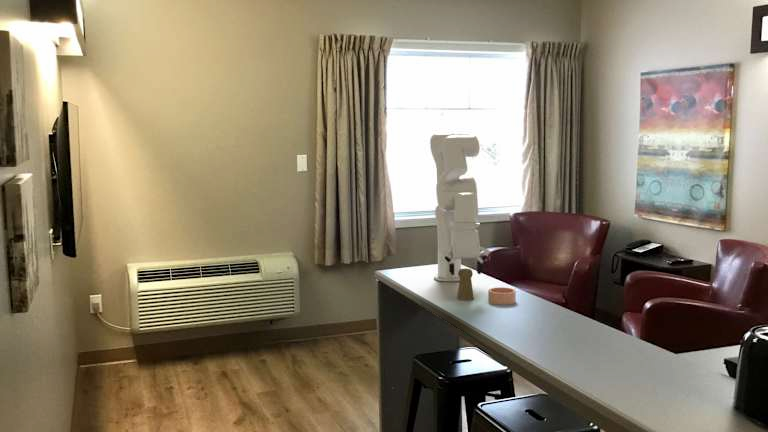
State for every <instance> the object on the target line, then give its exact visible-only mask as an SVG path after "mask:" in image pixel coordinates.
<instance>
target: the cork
mask: <svg viewBox="0 0 768 432" xmlns="http://www.w3.org/2000/svg"><path fill="white" fill-rule="evenodd" d="M458 276H459V277H460V280H459V281H458V290H457V296H456V299H457V300H458V301H463V302H464V301H465V302H467V301H468V302H469V301H473V300H474V299H475V298H474V291H473V290H474V289H473V283H472V277H473V270H472V269H470V268H467V267H466V268H461V269H460V270H459V271H458Z"/></svg>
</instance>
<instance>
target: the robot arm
mask: <svg viewBox="0 0 768 432" xmlns="http://www.w3.org/2000/svg"><path fill="white" fill-rule="evenodd" d="M429 144H430V151H431V155H432V158H433V160H434V164H435V167H436V188H435V190H436V192H435V193H436V199H437V206H436V207H435V210H434V213H435V214H434V216H435V222H436V228H437V229H436V230H437V274H434V276H433V279H434V280H435V281H439V282H450V283H451V282H459V280H460V277H459V276H458V271H459V270H460V269H462V259H466V260H467V259H476V260H477V262H476V273H477V274H478V275H481V274H482V273H481V272H483V263H484V261H486V259H487V258H488V256H489V254H490V250H489V249H488V248H485V247H483V246H481V245H480V236H479V231H478V230H477V228H480V227H481V224H480V223H479V222H478V220H479V204H478V202H479V201H478V200H479V199H478V188H477V182H476V179H475V178H474V177H473V176H471V175H465V174H466V173H467V172H468V163H467V158H474V157H477V156H478V155H479V153H480V141H479V139H478V137H477V135H475V134H474V133H472V132H470V131H457V132H456V131H451V132H449V131H448V132H447V131H446V132H445V131H444V132H438V133H433V134H432V135H431V137H430V141H429ZM481 251H482V252H484V253H483V255H482V256H481Z"/></svg>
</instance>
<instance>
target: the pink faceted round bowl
mask: <svg viewBox="0 0 768 432" xmlns="http://www.w3.org/2000/svg"><path fill="white" fill-rule="evenodd" d="M516 294H517V290H516V289H514V288H511V287H503V286H502V287H500V286H499V287H491V288H489V289H488V294H487V295H488V300H487V301H488V302H489V303H490V304H492V305H500V306H501V305H502V306H503V305H504V306H505V305H513V304H515V303H516V302H517V301H516V300H517V295H516Z"/></svg>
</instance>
